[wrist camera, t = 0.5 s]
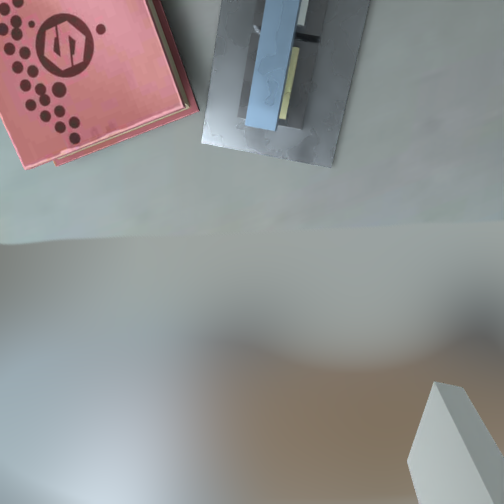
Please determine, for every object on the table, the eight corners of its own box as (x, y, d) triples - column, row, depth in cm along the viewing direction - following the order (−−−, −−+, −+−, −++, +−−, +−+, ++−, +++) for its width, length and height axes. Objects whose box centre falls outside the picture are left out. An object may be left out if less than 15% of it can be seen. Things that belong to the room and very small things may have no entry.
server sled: (240, -108, 31) (223, -169, 25) (389, -87, 30) (409, -144, 24) (204, 142, 36) (182, 143, 30) (330, 167, 35) (334, 172, 29)
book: (132, -83, 32) (101, -121, 28) (200, 111, 35) (183, 107, 31) (-15, -7, 35) (-66, -30, 31) (60, 166, 38) (24, 169, 34)
